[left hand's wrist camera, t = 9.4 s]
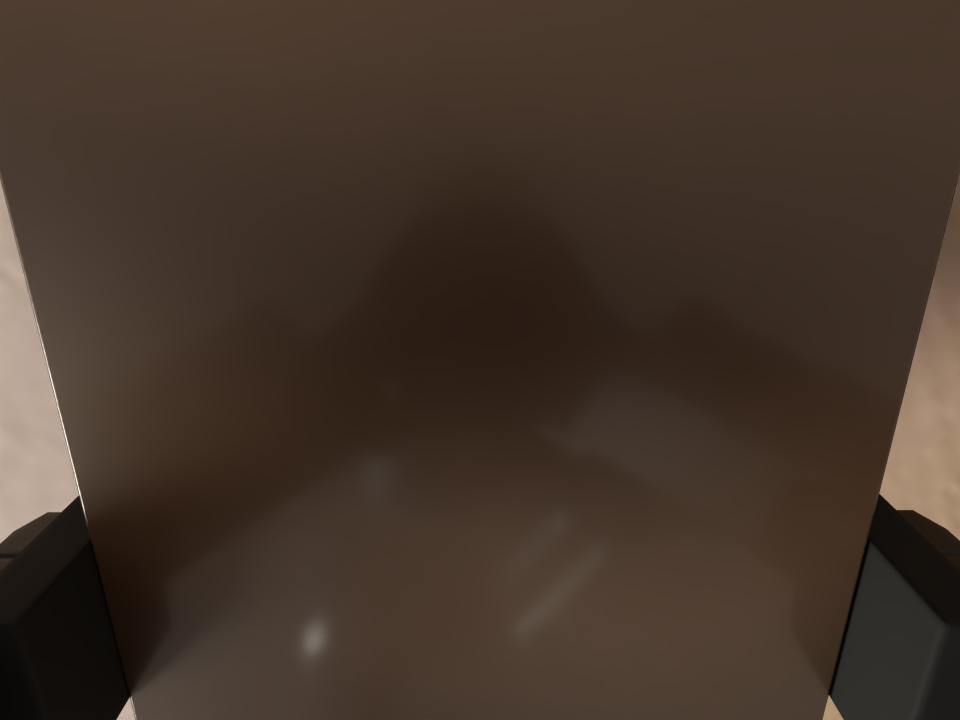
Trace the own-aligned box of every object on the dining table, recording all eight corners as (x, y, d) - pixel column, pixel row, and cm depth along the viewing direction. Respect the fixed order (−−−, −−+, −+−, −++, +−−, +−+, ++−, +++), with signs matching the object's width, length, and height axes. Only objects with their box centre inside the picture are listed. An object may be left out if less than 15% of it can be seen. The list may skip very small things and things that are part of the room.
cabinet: (232, -251, 13) (-305, -1026, 4) (727, -251, 13) (1265, -1026, 4) (307, 464, 19) (150, 789, 10) (651, 464, 19) (806, 789, 10)
